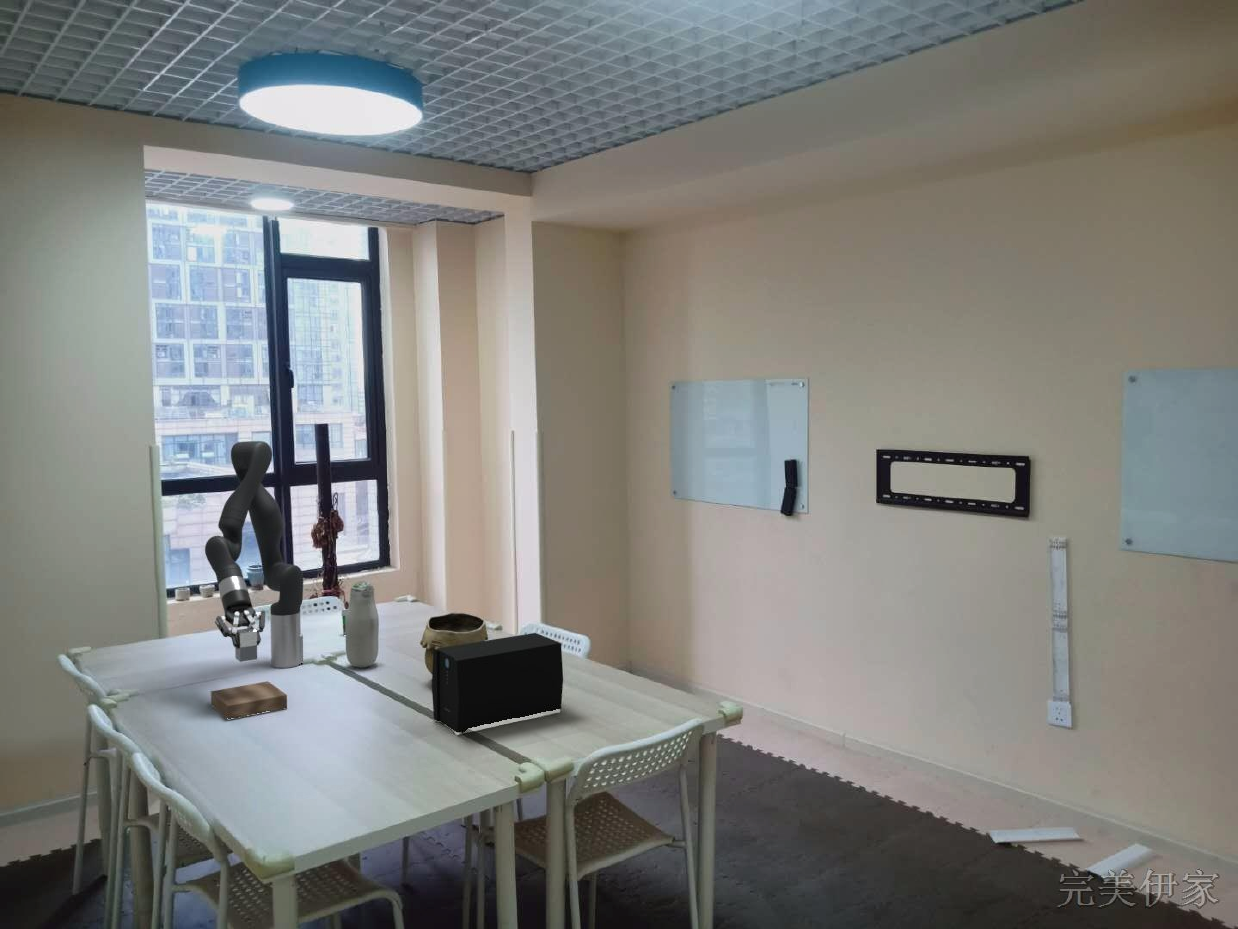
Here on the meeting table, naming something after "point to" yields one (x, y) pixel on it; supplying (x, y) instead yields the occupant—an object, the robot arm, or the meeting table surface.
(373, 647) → the grey bottle
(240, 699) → the walnut stand
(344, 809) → the meeting table surface
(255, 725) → the meeting table surface
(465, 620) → the clay pot
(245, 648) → the block
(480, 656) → the uninterruptible power supply
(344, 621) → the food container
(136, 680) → the meeting table surface
